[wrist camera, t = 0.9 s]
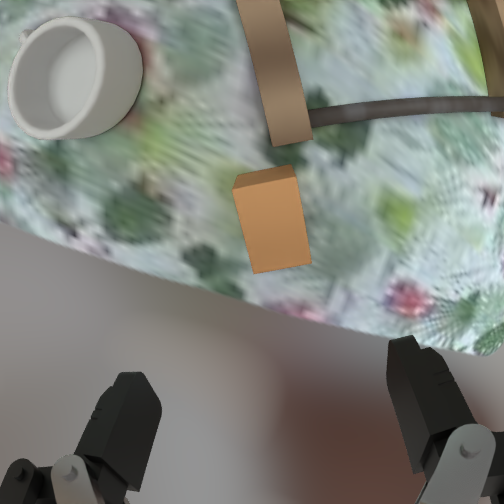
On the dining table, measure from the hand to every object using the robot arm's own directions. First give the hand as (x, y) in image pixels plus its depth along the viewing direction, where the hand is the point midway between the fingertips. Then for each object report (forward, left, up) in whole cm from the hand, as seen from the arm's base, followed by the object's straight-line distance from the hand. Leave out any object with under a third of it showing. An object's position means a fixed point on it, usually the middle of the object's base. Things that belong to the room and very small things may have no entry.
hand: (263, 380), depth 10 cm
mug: (-15, -11, -17) cm, 26 cm away
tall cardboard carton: (0, +1, -17) cm, 17 cm away
